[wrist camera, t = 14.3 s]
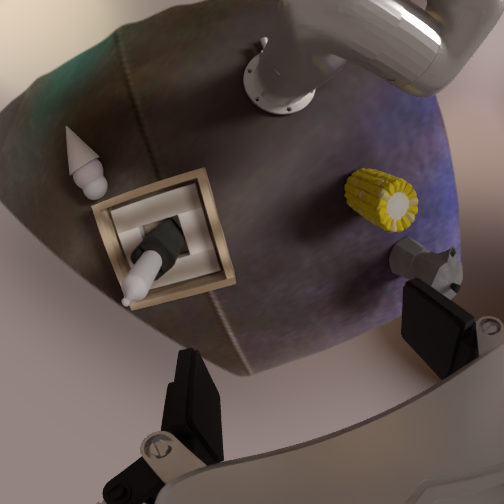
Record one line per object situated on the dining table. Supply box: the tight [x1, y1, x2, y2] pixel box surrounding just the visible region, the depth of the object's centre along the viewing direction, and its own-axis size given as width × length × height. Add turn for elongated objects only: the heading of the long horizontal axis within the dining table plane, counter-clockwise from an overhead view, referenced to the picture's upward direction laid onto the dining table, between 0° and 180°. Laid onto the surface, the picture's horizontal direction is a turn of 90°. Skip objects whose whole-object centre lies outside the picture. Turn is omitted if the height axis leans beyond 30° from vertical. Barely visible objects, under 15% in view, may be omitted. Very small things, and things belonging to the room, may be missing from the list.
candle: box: [121, 218, 185, 306], centre depth 35 cm, size 5×5×25 cm
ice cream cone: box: [66, 126, 107, 200], centre depth 38 cm, size 6×6×15 cm
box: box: [91, 167, 236, 310], centre depth 44 cm, size 19×19×6 cm
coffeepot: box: [389, 237, 463, 300], centre depth 46 cm, size 15×9×18 cm, turn 3°
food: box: [344, 168, 418, 233], centre depth 43 cm, size 14×11×9 cm
